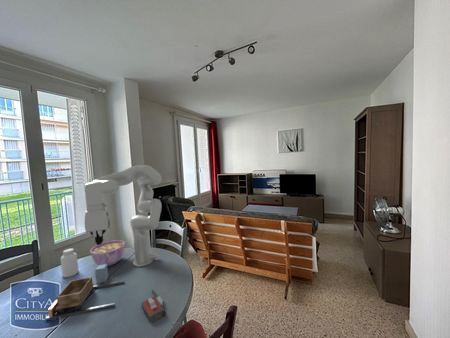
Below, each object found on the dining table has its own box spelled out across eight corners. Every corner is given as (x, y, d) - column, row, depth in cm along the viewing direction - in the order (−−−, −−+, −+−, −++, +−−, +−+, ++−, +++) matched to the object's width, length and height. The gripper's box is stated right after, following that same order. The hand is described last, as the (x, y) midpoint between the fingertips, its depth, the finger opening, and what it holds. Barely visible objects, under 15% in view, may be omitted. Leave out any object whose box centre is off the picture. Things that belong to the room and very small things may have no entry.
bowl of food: (116, 270, 124) (115, 252, 123) (84, 272, 124) (82, 254, 123) (131, 255, 144) (130, 239, 143) (103, 256, 144) (102, 240, 143)
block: (108, 277, 118) (106, 264, 117) (105, 281, 113) (104, 268, 113) (99, 278, 117) (98, 265, 116) (96, 283, 112) (95, 269, 112)
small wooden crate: (94, 289, 106) (93, 275, 106) (81, 310, 92) (80, 294, 91) (73, 293, 104) (71, 279, 104) (56, 315, 90) (54, 299, 89)
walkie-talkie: (170, 314, 87) (154, 292, 103) (170, 305, 87) (154, 283, 102) (150, 326, 82) (136, 300, 97) (149, 316, 81) (135, 291, 97)
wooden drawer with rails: (124, 282, 112) (123, 273, 111) (114, 306, 93) (113, 296, 93) (68, 292, 105) (67, 283, 105) (45, 321, 87) (44, 310, 87)
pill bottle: (81, 270, 127) (79, 247, 126) (70, 277, 119) (68, 253, 118) (70, 270, 128) (67, 247, 127) (58, 277, 120) (56, 253, 119)
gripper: (114, 204, 104) (118, 238, 105) (81, 207, 100) (85, 243, 102) (110, 207, 97) (114, 244, 98) (74, 211, 93) (78, 249, 94)
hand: (99, 243), depth 100 cm, fingers closed
